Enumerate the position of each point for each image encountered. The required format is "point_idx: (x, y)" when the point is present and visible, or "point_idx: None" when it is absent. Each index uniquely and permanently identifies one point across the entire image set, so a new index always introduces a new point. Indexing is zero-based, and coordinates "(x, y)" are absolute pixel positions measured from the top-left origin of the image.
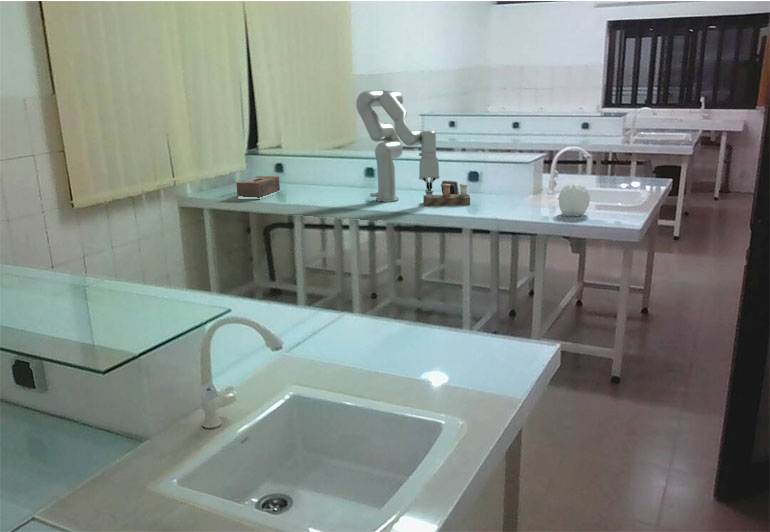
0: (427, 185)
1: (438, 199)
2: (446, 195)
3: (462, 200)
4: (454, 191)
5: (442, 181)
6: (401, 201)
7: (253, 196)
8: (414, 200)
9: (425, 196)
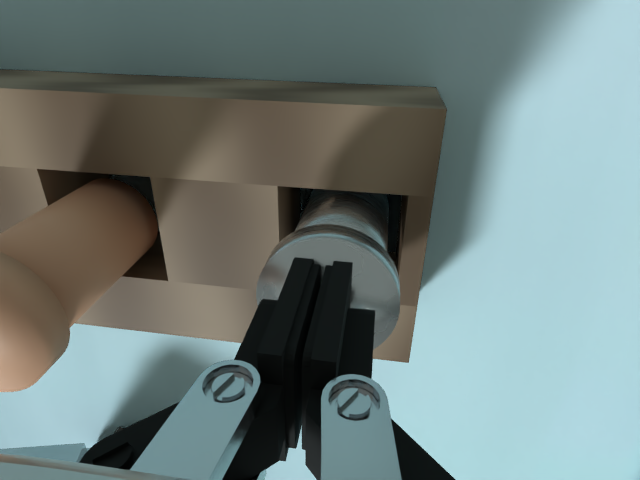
0: (349, 349)
1: (208, 93)
2: (85, 194)
3: None
4: None
5: None
6: (634, 409)
7: None
8: (482, 418)
9: None
